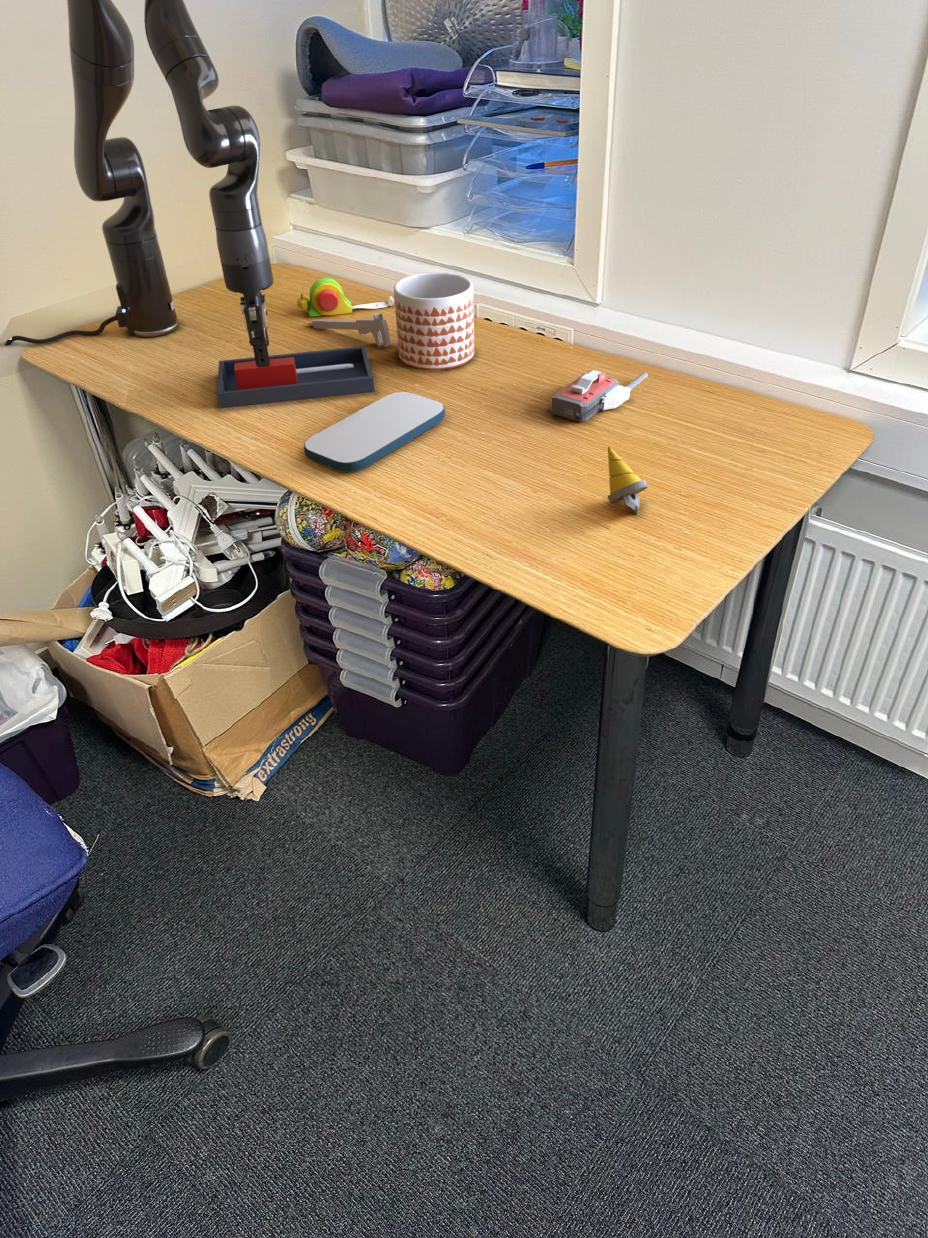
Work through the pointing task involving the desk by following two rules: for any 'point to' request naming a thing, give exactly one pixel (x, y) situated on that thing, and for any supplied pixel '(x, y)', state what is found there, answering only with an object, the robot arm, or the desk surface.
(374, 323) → the caliper
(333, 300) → the toy measuring tape
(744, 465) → the desk surface
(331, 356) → the tray
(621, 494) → the yellow cone
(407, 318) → the planter
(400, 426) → the external hard drive
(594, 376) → the walkie-talkie
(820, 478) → the desk surface
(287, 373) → the screwdriver
